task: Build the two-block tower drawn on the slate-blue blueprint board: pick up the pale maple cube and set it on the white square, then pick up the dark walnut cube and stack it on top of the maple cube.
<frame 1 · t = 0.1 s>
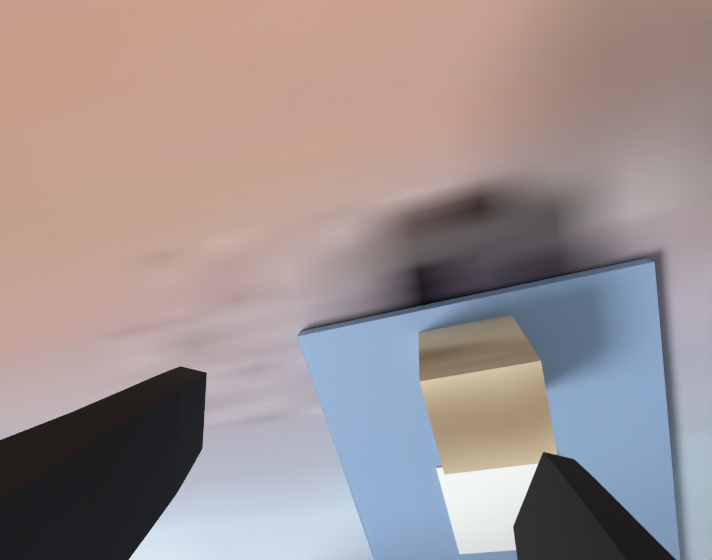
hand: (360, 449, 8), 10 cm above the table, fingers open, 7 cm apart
blueprint board: (501, 495, 20), on the table
maple cube: (472, 364, 17), point 1 cm above the table, touching blueprint board
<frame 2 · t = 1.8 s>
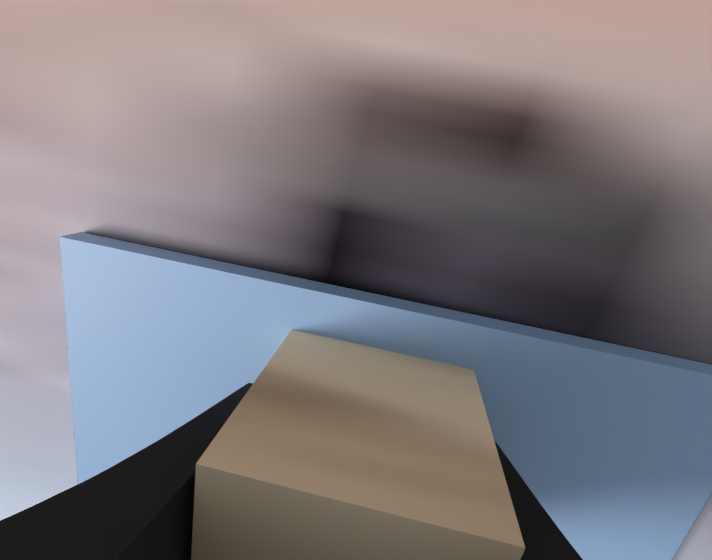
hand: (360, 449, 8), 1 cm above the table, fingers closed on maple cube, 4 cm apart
maple cube: (364, 424, 9), point 1 cm above the table, touching blueprint board, gripper
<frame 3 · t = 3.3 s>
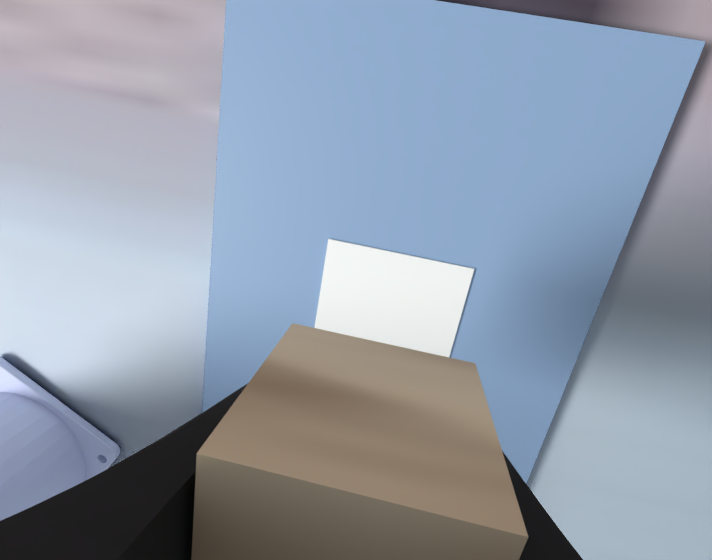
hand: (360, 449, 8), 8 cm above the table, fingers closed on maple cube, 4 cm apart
blueprint board: (386, 313, 16), on the table
maple cube: (365, 419, 9), point 8 cm above the table, touching gripper
when the fingers open (3 cm above the table, at t = 4.8 s): maple cube drops 1 cm, resting on blueprint board.
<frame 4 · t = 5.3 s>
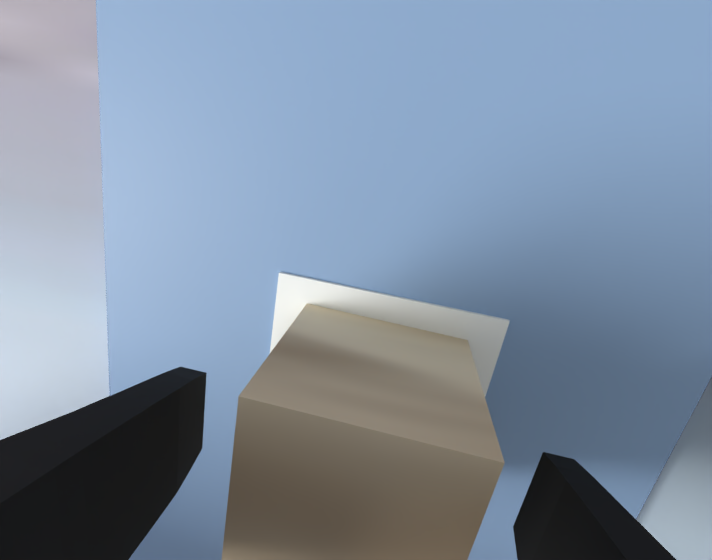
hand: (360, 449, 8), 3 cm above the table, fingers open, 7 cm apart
blueprint board: (372, 380, 11), on the table
maple cube: (370, 390, 10), point 1 cm above the table, touching blueprint board
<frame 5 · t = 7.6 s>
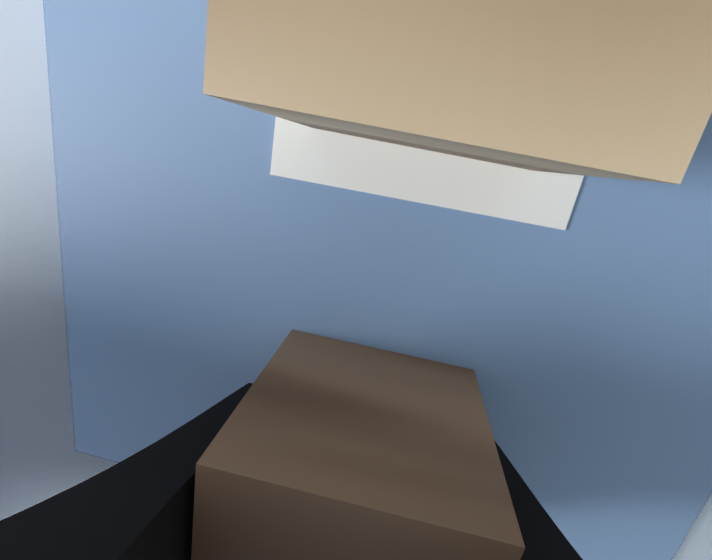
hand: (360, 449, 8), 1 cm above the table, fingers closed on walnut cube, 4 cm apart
walnut cube: (364, 424, 9), point 1 cm above the table, touching blueprint board, gripper
blueprint board: (446, 44, 7), on the table
maple cube: (449, 22, 6), point 1 cm above the table, touching blueprint board
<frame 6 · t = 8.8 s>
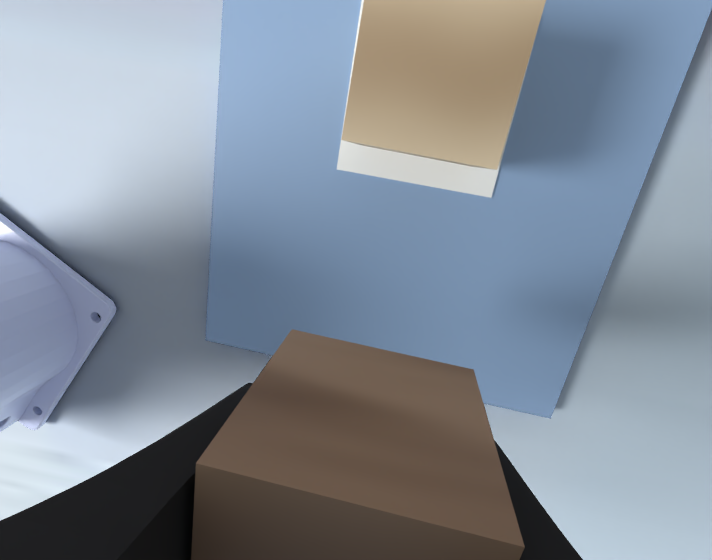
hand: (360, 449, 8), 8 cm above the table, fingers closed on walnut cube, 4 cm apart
walnut cube: (364, 424, 9), point 8 cm above the table, touching gripper
blueprint board: (429, 101, 14), on the table
maple cube: (430, 94, 13), point 1 cm above the table, touching blueprint board
when the fingers open (6 cm above the table, at t = 10.0 s): walnut cube stays where it is, resting on maple cube.
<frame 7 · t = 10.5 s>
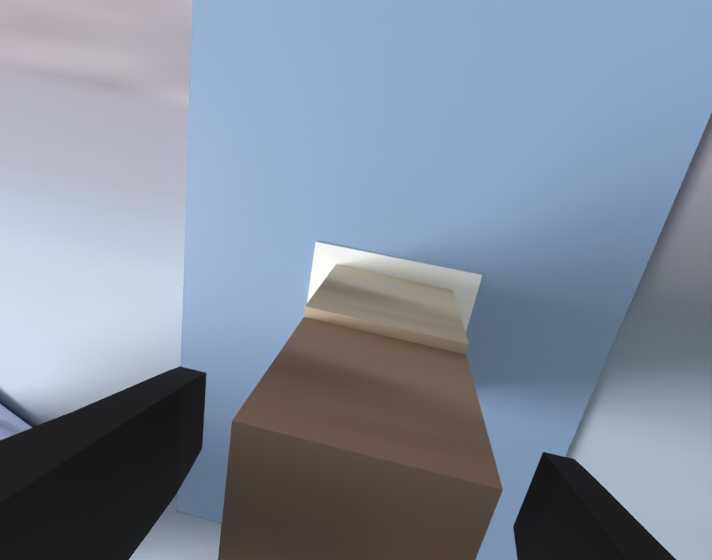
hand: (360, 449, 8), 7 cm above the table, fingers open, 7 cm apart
walnut cube: (367, 404, 10), point 5 cm above the table, touching maple cube
blueprint board: (382, 325, 14), on the table
maple cube: (381, 330, 14), point 1 cm above the table, touching blueprint board, walnut cube
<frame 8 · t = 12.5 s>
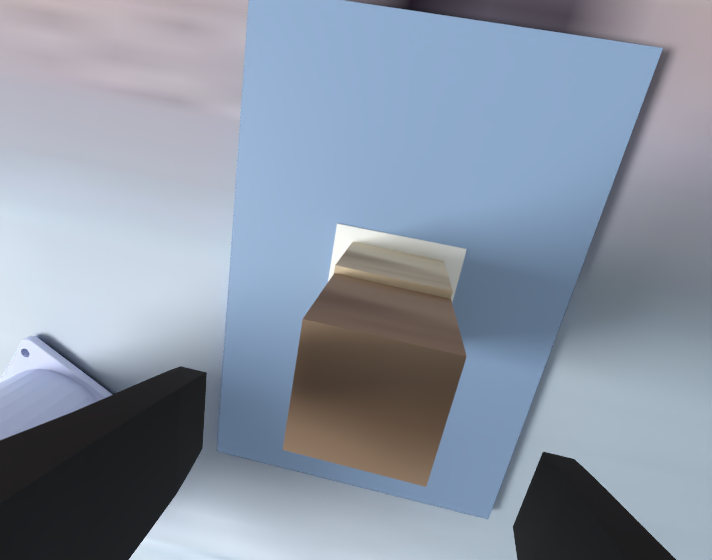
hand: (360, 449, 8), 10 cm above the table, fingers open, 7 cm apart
walnut cube: (380, 338, 14), point 5 cm above the table, touching maple cube
blueprint board: (389, 291, 18), on the table
maple cube: (388, 293, 17), point 1 cm above the table, touching blueprint board, walnut cube
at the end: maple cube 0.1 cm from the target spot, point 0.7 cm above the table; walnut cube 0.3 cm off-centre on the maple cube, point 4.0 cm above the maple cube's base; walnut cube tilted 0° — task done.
